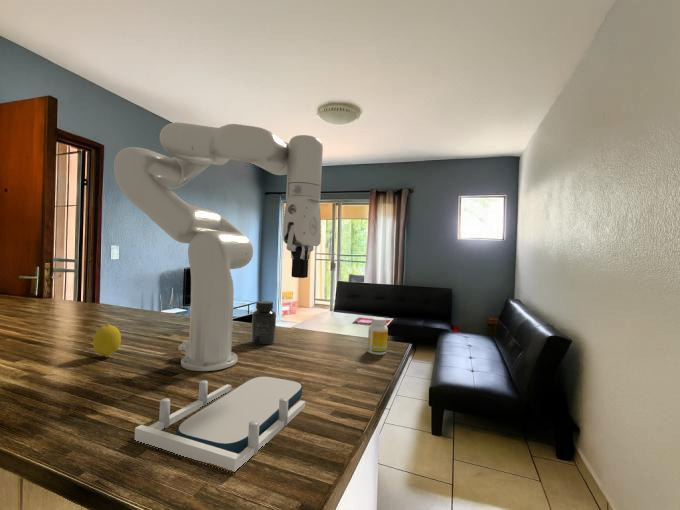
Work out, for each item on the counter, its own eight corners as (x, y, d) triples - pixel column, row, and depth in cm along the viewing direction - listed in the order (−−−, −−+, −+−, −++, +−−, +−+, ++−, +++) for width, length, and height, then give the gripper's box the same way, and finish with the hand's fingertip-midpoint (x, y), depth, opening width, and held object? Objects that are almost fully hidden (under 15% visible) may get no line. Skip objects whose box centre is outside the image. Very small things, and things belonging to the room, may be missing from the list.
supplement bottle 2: (363, 351, 94) (365, 317, 94) (377, 348, 98) (378, 315, 98) (377, 356, 90) (378, 321, 90) (390, 353, 94) (392, 319, 94)
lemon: (86, 358, 79) (88, 324, 79) (110, 352, 84) (111, 320, 84) (102, 362, 77) (103, 327, 77) (125, 355, 82) (126, 323, 82)
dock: (133, 440, 47) (134, 412, 47) (226, 389, 65) (226, 368, 65) (235, 474, 41) (237, 441, 41) (306, 407, 59) (307, 384, 59)
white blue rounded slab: (235, 463, 43) (236, 448, 43) (165, 444, 47) (166, 430, 47) (307, 393, 66) (308, 383, 66) (256, 383, 69) (257, 374, 69)
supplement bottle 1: (256, 338, 103) (258, 299, 103) (277, 340, 102) (279, 301, 102) (247, 344, 96) (249, 303, 96) (270, 346, 95) (271, 304, 95)
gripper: (303, 187, 65) (298, 281, 65) (331, 199, 79) (328, 276, 79) (270, 188, 68) (266, 278, 68) (303, 200, 82) (299, 274, 82)
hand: (299, 277), depth 74 cm, fingers closed
